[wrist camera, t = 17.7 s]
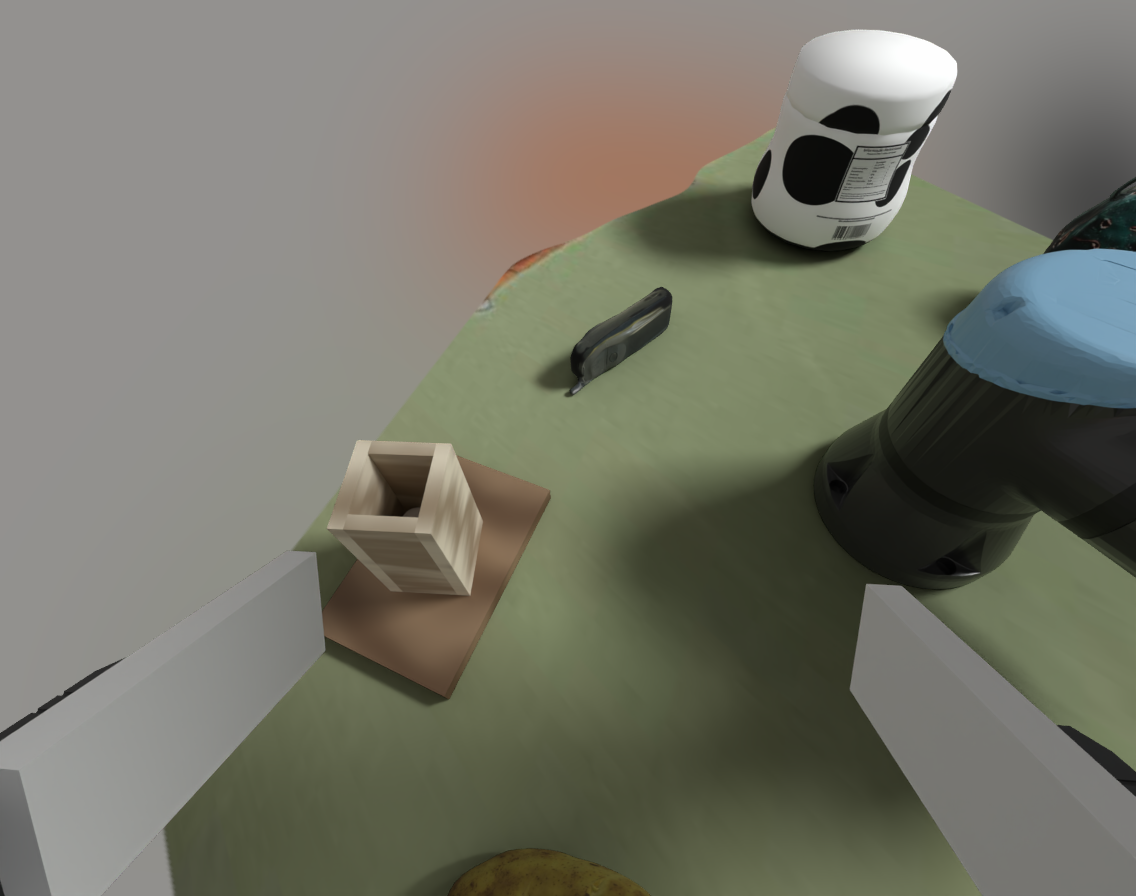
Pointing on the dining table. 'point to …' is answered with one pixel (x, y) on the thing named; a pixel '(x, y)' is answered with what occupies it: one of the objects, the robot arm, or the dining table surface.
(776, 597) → the dining table surface
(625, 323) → the mobile phone
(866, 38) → the doce de leite jar
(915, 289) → the dining table surface
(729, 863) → the dining table surface
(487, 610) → the flat brown rectangular board
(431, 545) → the wooden pencil cup
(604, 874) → the potato
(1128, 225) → the green statue
